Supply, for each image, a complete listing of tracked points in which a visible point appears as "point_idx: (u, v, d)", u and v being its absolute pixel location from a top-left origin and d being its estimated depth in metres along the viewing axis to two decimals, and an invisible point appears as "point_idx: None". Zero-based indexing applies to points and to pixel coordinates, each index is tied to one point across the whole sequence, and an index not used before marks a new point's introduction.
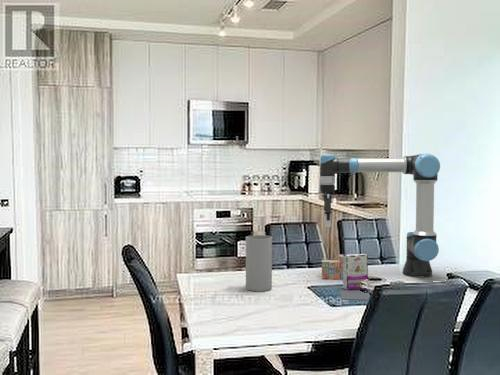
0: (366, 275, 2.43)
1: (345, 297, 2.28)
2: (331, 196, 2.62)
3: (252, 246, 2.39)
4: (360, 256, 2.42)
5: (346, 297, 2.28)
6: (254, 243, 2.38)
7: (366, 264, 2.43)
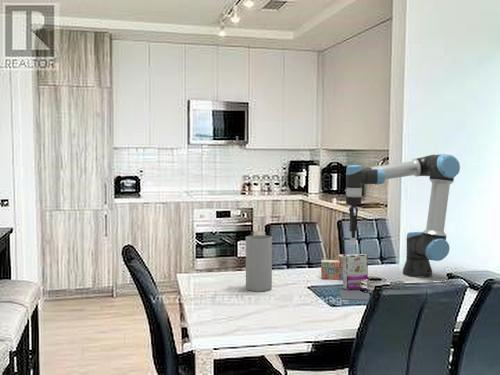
0: (366, 275, 2.43)
1: (345, 297, 2.28)
2: (357, 210, 2.48)
3: (252, 246, 2.39)
4: (360, 256, 2.42)
5: (346, 297, 2.28)
6: (254, 243, 2.38)
7: (366, 264, 2.43)
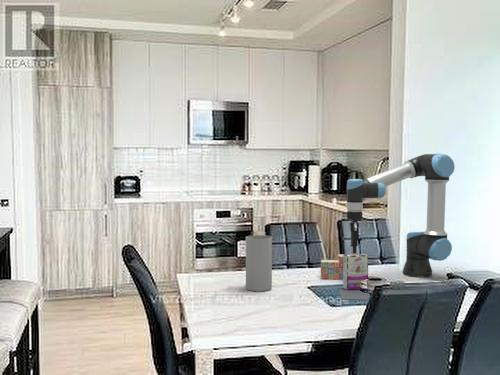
0: (366, 275, 2.43)
1: (345, 297, 2.28)
2: (358, 225, 2.44)
3: (252, 246, 2.39)
4: (361, 256, 2.42)
5: (346, 297, 2.28)
6: (254, 243, 2.38)
7: (367, 264, 2.43)
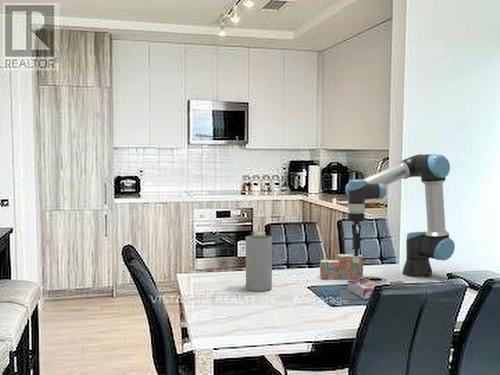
0: None
1: (345, 297, 2.28)
2: (360, 227, 2.37)
3: (252, 246, 2.39)
4: None
5: (346, 297, 2.28)
6: (254, 243, 2.38)
7: None
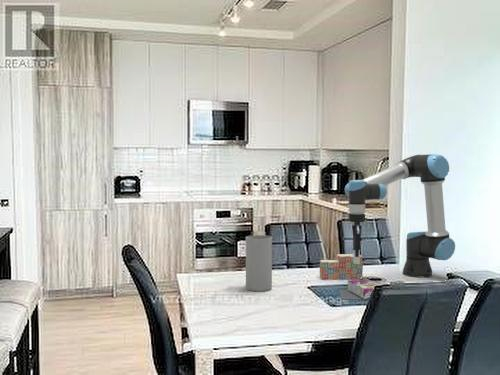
0: None
1: (345, 297, 2.28)
2: (361, 227, 2.35)
3: (252, 246, 2.39)
4: None
5: (346, 297, 2.28)
6: (254, 243, 2.38)
7: None
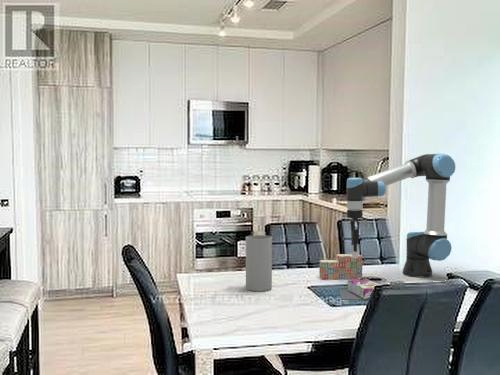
0: None
1: (345, 297, 2.28)
2: None
3: (252, 246, 2.39)
4: None
5: (346, 297, 2.28)
6: (254, 243, 2.38)
7: None
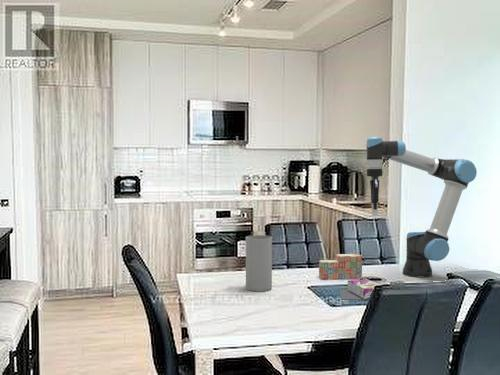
0: None
1: (345, 297, 2.28)
2: None
3: (252, 246, 2.39)
4: None
5: (346, 297, 2.28)
6: (254, 243, 2.38)
7: None
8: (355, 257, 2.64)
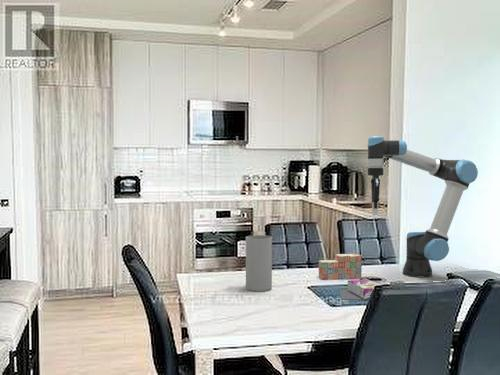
0: None
1: (345, 297, 2.28)
2: (379, 180, 2.51)
3: (252, 246, 2.39)
4: None
5: (346, 297, 2.28)
6: (254, 243, 2.38)
7: None
8: (355, 257, 2.64)
